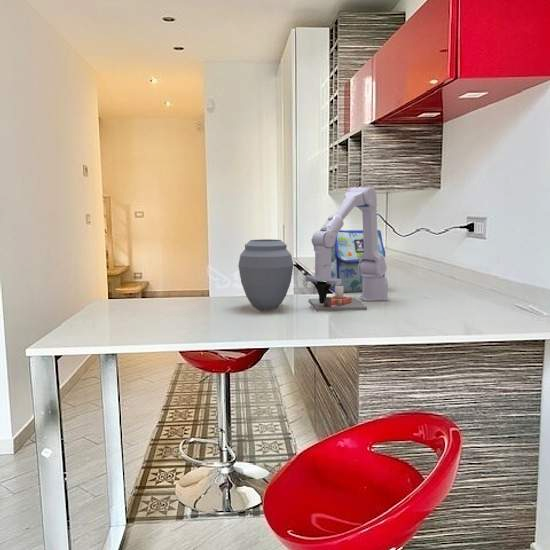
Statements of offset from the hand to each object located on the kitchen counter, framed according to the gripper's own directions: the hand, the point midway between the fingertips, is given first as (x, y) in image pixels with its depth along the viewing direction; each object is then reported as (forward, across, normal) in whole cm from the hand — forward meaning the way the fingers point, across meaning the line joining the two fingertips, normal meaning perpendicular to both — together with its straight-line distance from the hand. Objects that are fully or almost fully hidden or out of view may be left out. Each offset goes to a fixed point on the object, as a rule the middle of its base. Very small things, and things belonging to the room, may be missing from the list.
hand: (322, 303), depth 189 cm
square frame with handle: (+1, +1, +6) cm, 6 cm away
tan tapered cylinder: (+2, +4, +5) cm, 6 cm away
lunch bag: (+2, -16, +43) cm, 45 cm away
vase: (+2, -16, -13) cm, 20 cm away
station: (+2, 0, +9) cm, 10 cm away
